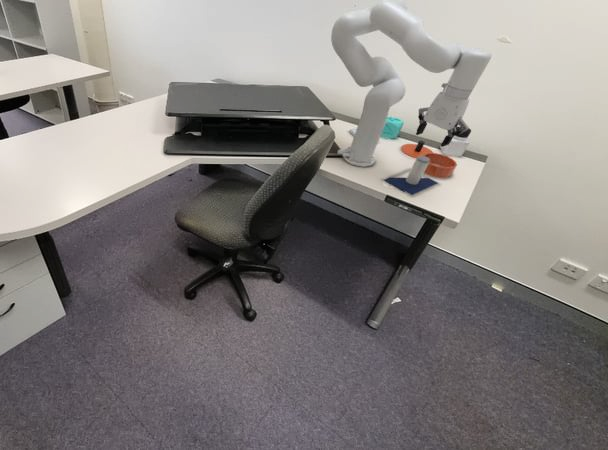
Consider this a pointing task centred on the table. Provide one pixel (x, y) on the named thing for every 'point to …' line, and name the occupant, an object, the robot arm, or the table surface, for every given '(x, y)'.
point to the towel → (408, 187)
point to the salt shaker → (417, 170)
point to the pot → (442, 161)
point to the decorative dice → (392, 127)
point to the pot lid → (415, 149)
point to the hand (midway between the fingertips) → (430, 139)
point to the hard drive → (353, 131)
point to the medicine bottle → (457, 143)
